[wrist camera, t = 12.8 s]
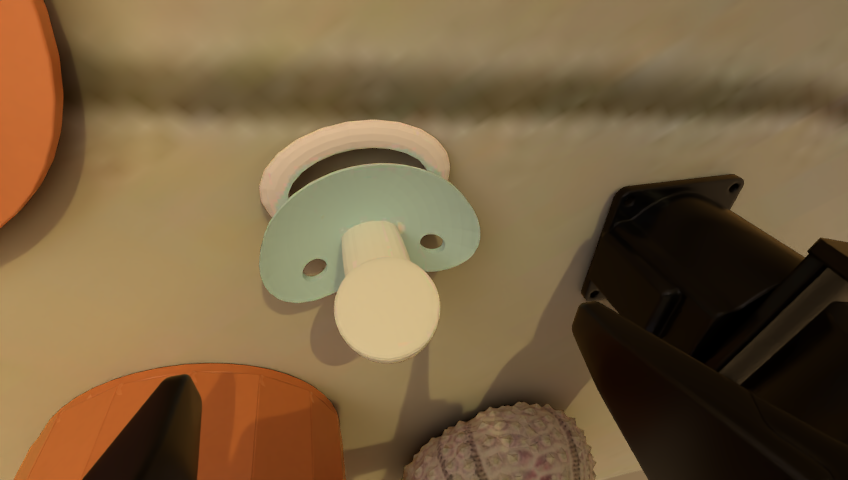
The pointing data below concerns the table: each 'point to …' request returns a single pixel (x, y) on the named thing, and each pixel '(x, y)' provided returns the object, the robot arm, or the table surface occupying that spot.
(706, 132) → the table surface
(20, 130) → the lid
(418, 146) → the pacifier
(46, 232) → the table surface
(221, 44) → the table surface
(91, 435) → the pot
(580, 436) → the sea urchin shell
